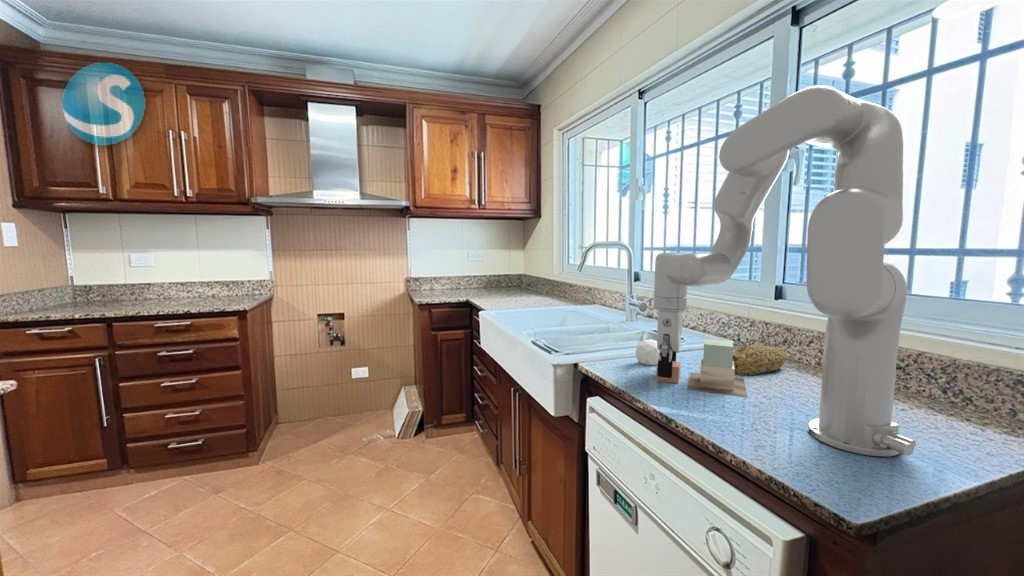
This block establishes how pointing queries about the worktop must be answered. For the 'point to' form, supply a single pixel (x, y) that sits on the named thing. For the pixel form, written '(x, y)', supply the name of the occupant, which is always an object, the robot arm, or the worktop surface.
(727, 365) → the tower middle block
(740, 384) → the walnut board
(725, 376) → the tower base block
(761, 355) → the sponge
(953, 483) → the worktop surface
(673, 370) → the terracotta block
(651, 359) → the ball
